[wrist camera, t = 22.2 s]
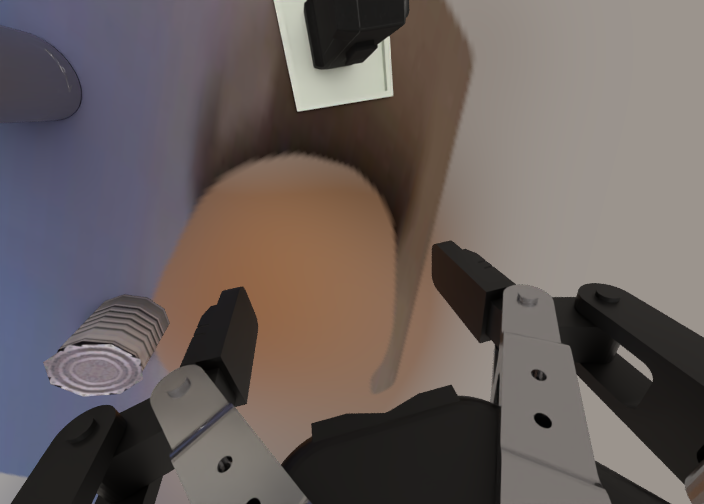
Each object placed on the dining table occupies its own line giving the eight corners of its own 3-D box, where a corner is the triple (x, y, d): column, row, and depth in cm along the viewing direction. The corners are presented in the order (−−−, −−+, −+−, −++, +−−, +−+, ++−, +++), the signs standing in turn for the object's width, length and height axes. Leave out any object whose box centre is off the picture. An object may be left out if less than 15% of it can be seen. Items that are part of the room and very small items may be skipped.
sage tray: (297, 111, 40) (297, 111, 38) (269, -18, 33) (268, -24, 32) (389, 96, 41) (393, 95, 40) (381, -31, 35) (385, -37, 33)
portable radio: (357, 73, 39) (441, 30, 17) (315, 80, 38) (346, 45, 16) (349, 0, 35) (443, -174, 13) (302, 6, 34) (320, -165, 13)
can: (127, 282, 47) (80, 332, 37) (184, 319, 53) (157, 372, 42) (82, 318, 49) (24, 376, 38) (141, 351, 54) (105, 409, 44)
